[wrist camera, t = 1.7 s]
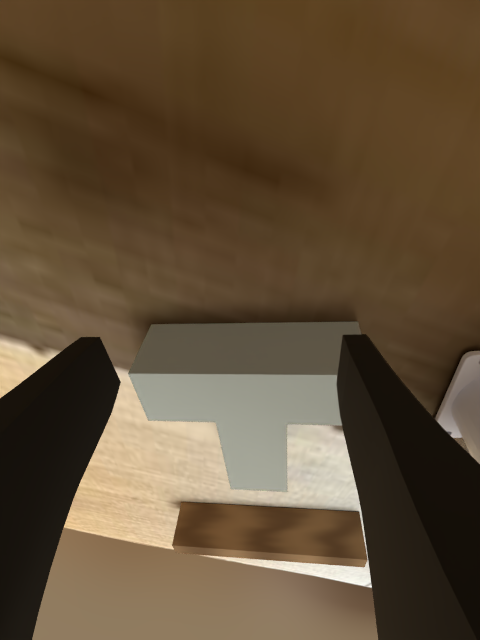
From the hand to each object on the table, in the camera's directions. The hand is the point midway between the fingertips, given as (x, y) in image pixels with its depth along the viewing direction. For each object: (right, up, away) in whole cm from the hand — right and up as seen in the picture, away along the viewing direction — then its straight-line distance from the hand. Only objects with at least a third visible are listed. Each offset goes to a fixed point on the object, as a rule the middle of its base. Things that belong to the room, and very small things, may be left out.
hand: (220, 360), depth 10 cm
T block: (+2, -4, +13) cm, 14 cm away
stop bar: (+3, -19, +25) cm, 31 cm away
